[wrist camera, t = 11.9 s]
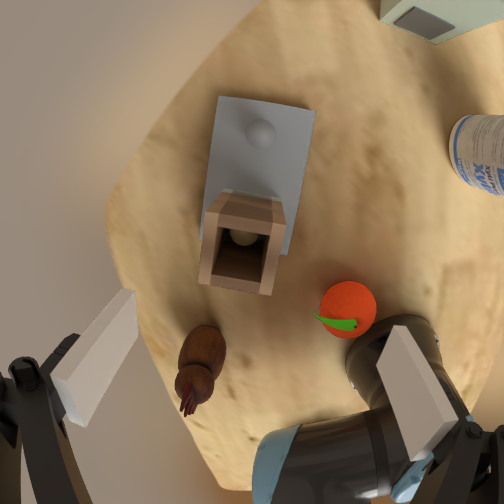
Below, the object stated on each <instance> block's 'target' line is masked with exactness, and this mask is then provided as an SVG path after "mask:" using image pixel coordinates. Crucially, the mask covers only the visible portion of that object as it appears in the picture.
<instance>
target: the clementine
mask: <svg viewBox="0 0 504 504" xmlns="http://www.w3.org/2000/svg"><path fill="white" fill-rule="evenodd" d="M376 310H377V307H376V302H375V298H374V296H373V294H372V293H371V292H370V291H369V290H368V289H367V287H366V286H364V285H362V284H360V283H358V282H353V281H344V282H340V283H337V284H336V285H334V286H332V287H331V288H330V289H329V290H328V291H327V292H326V294H325V295H324V297H323V299H322V302H321V304H320V316H318V315H317V314H315V313H314V312H313V313H314V314H315V315H316V317H317V318H318V319H319V320H321V321H322V322H323V324H324V326H325V327H326V329H327V330H328V331H329V332H331V333H332V334H333V335H335V336H337V337H339V338H355V337H358V336H360V335H362V334H364V333H365V332H366V331H367V330H368V329H369V328H370V327H371V325H372V324H373V322H374V320H375V316H376Z"/></svg>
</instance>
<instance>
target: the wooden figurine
mask: <svg viewBox="0 0 504 504" xmlns="http://www.w3.org/2000/svg"><path fill="white" fill-rule="evenodd" d="M225 355H226V342H225V339H224V337H223V336H222V334H221V333H220V332H219V331H218V330H216V329H215V328H212V327H209V326H201V327H198V328H195V329H194V330H192V331H191V332H190V334H189V335H188V336H187V337H186V339H185V341H184V343H183V346H182V348H181V351H180V355H179V360H178V369H179V372H178V374H177V377H176V379H175V391H176V393H177V395H178V397H179V398H180V399H182V402H181V406H180V412H182V411H183V409H184V408H185V410H184V417H186V416H187V414H188V415H191V414H194V412H195V410H196V407H197V405H198V404H202V403H204V402H206V401H207V400H208V399H209V398H210V397H211V395H212V393H213V390H214V383H215V380H216V379H217V377H218V376H219V374H220V372H221V370H222V367H223V364H224V360H225Z"/></svg>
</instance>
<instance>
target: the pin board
mask: <svg viewBox="0 0 504 504" xmlns="http://www.w3.org/2000/svg"><path fill="white" fill-rule="evenodd" d="M315 115H316V111H312V110H308V109H303V108H298V107H293V106H288V105H282V104H277V103H271V102H265V101H258V100H251V99H244V98H237V97H228V96H219V97H218V103H217V109H216V115H215V121H214V127H213V134H212V141H211V147H210V154H209V161H208V169H207V176H206V184H205V191H204V200H203V208H202V216H201V225H200V235H199V241H202V237H203V229H204V220H205V212H206V210H207V209H208V208H209V206H210V205H211V204H212V203H213V202H214V200H215V199H216V198H217V197H218V195H219V194H220V193H221V192H222V190H223V189H224V188H226V189H232V190H238V191H244V192H250V193H256V194H262V195H267V196H273V197H278V198H281V201H282V206H283V211H284V216H285V221H286V230H285V234H284V239H283V244H282V248H281V253H280V254H281V255H288V250H289V246H290V241H291V237H292V232H293V227H294V223H295V218H296V213H297V208H298V203H299V199H300V194H301V189H302V184H303V179H304V174H305V168H306V163H307V158H308V153H309V148H310V142H311V137H312V131H313V126H314V120H315ZM227 234H228V235H231V237H232V239H233V241H234V242H235V243H237V244H239V245H242V246H248V245H251V244H253V243H254V242H255V241H256V240H263V238H264V234H259V233H253V232H247V231H241V230H235V229H230V228H228V231H227Z"/></svg>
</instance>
